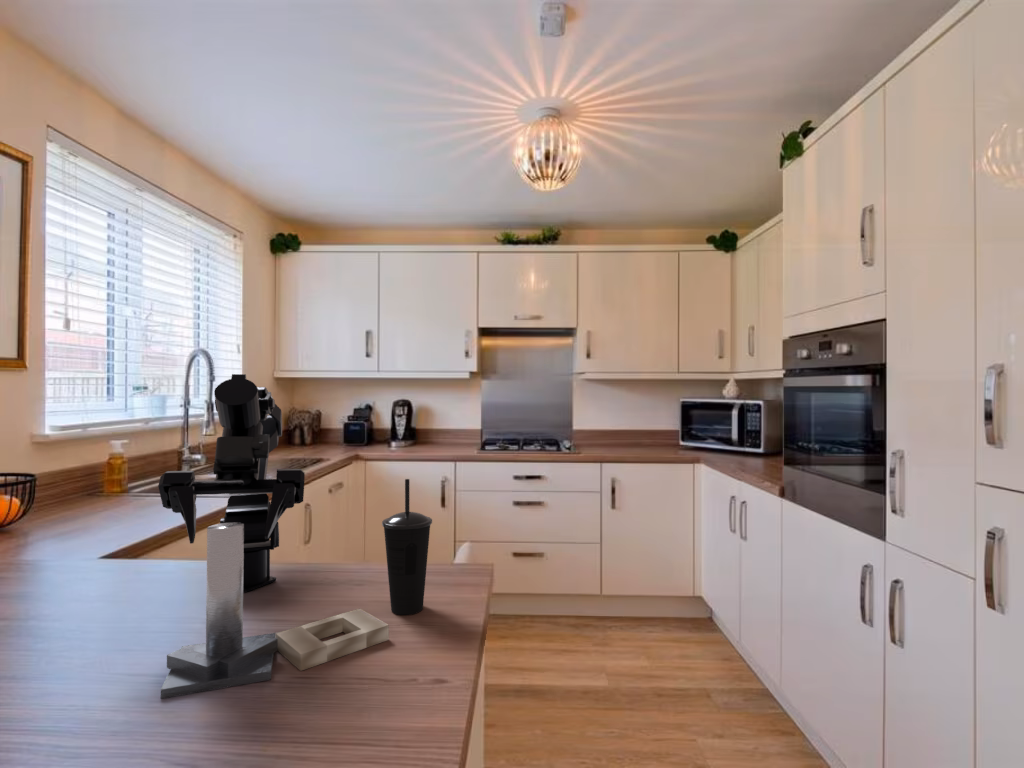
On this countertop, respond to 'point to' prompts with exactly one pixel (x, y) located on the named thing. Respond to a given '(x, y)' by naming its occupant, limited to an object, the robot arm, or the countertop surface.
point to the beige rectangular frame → (310, 651)
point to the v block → (219, 666)
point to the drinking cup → (407, 558)
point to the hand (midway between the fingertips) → (229, 539)
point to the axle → (224, 589)
